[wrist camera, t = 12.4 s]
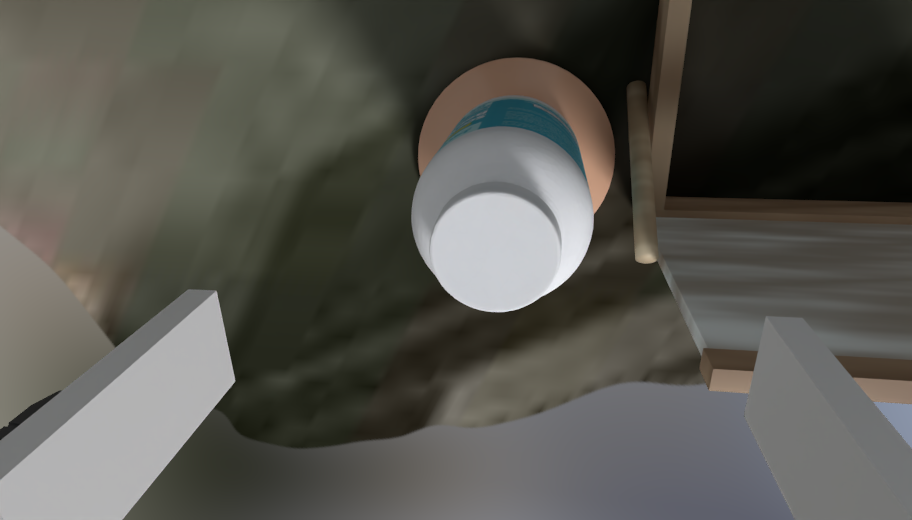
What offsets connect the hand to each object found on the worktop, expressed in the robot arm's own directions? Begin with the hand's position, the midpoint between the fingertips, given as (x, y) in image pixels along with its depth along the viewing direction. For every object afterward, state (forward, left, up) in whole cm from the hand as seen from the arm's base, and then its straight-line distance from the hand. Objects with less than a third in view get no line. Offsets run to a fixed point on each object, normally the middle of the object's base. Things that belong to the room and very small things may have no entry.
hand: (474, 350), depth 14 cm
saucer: (0, 0, -21) cm, 21 cm away
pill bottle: (0, 0, -20) cm, 20 cm away
